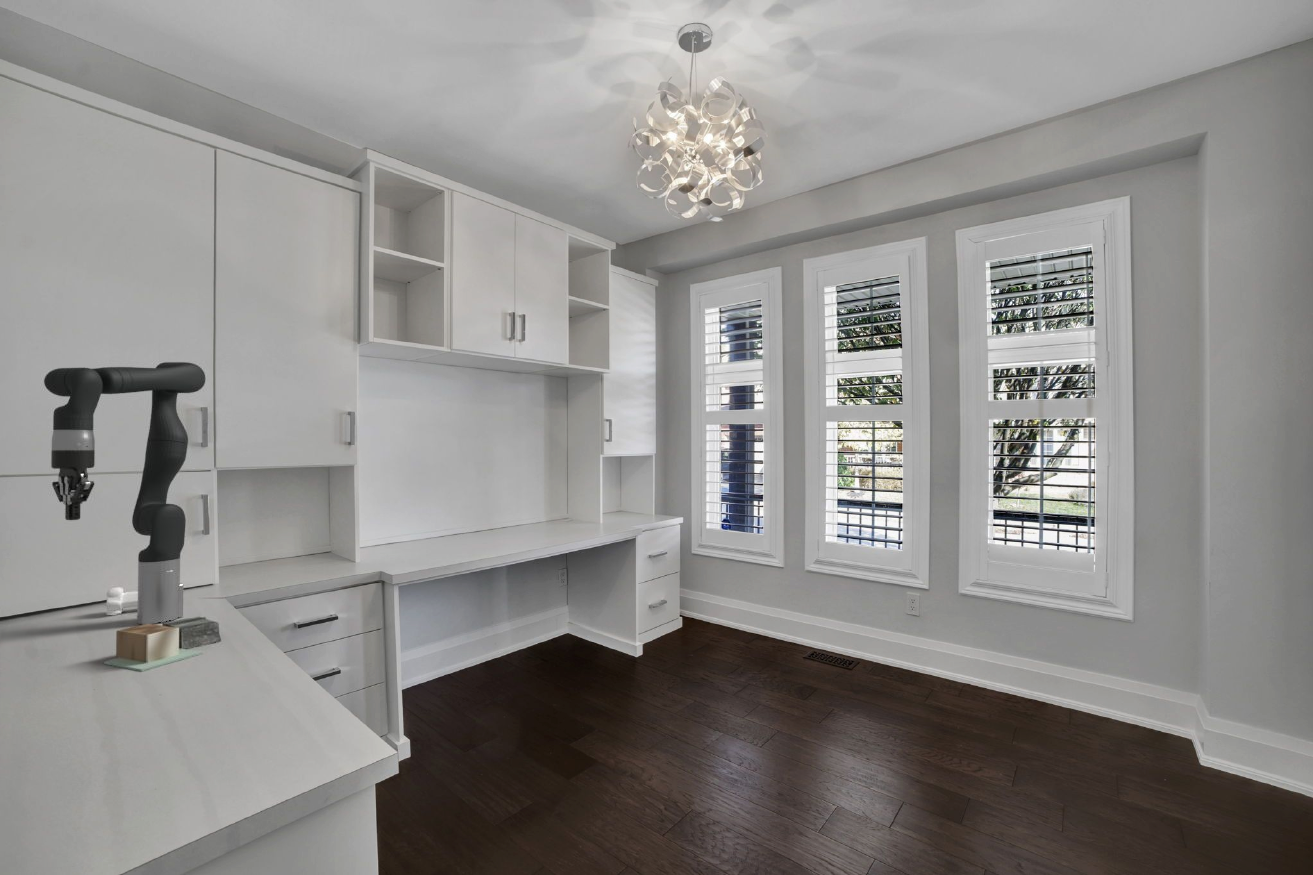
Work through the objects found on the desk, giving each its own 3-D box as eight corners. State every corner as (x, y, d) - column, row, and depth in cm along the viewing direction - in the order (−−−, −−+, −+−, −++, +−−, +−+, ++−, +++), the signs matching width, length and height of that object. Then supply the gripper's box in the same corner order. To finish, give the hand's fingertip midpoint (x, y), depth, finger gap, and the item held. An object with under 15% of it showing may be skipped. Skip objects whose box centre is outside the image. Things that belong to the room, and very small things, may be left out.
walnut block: (147, 623, 141) (179, 627, 136) (146, 649, 141) (178, 654, 136) (116, 630, 135) (148, 635, 131) (115, 657, 135) (147, 662, 130)
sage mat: (165, 647, 143) (165, 645, 143) (202, 653, 138) (202, 652, 138) (103, 663, 132) (103, 661, 132) (141, 671, 126) (141, 669, 126)
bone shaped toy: (105, 620, 172) (105, 592, 171) (109, 611, 178) (109, 585, 178) (171, 611, 180) (171, 585, 180) (173, 603, 187) (173, 578, 187)
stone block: (204, 632, 156) (204, 613, 156) (225, 642, 147) (225, 621, 148) (161, 641, 149) (162, 620, 149) (180, 651, 140) (181, 629, 140)
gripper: (108, 448, 145) (108, 518, 144) (77, 449, 150) (76, 517, 149) (69, 448, 138) (68, 522, 137) (37, 449, 142) (36, 520, 142)
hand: (72, 519), depth 143 cm, fingers closed
